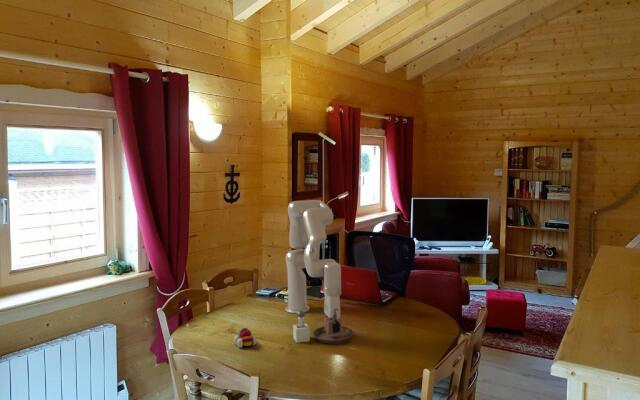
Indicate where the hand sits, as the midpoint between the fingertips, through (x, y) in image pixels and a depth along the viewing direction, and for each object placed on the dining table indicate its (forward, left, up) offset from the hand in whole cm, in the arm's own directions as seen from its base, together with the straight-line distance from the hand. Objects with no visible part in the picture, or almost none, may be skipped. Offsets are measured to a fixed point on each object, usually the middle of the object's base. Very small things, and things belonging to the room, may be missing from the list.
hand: (332, 328), depth 235 cm
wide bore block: (-2, -14, -4) cm, 15 cm away
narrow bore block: (0, 0, -2) cm, 2 cm away
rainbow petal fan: (-4, -39, -5) cm, 39 cm away
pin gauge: (-2, -14, -4) cm, 15 cm away
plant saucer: (0, 0, -5) cm, 5 cm away
